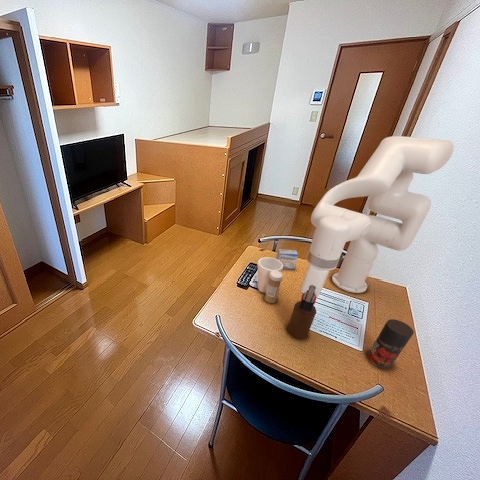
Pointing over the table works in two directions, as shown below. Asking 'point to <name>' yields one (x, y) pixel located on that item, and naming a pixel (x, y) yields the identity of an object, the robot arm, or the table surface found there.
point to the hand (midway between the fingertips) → (306, 304)
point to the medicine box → (287, 258)
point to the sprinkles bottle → (273, 286)
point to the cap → (312, 297)
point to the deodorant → (390, 343)
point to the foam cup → (266, 271)
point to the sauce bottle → (300, 322)
